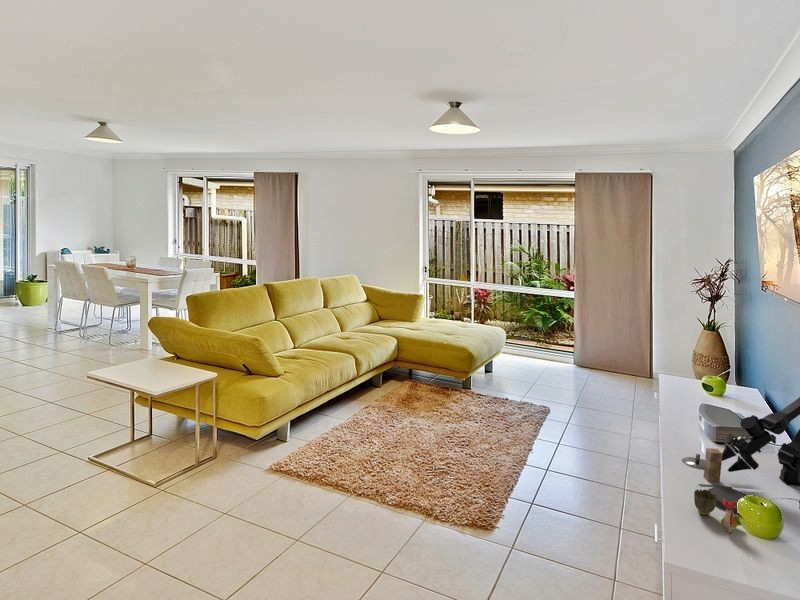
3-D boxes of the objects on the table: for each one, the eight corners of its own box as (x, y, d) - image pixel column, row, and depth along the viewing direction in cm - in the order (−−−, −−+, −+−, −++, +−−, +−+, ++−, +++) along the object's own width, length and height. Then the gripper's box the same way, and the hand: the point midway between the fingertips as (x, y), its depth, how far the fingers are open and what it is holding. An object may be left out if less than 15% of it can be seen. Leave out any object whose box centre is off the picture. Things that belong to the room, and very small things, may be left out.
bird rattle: (738, 541, 181) (742, 521, 187) (740, 519, 176) (744, 499, 182) (717, 535, 185) (722, 515, 191) (718, 513, 180) (723, 493, 186)
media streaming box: (699, 497, 206) (700, 490, 206) (724, 490, 212) (725, 483, 212) (736, 517, 193) (737, 509, 193) (761, 508, 199) (762, 501, 199)
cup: (687, 510, 196) (689, 490, 195) (702, 507, 199) (704, 487, 198) (705, 521, 189) (707, 500, 188) (720, 517, 192) (722, 497, 191)
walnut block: (714, 478, 220) (717, 448, 218) (719, 483, 216) (722, 453, 214) (703, 477, 221) (706, 448, 219) (707, 482, 217) (710, 452, 215)
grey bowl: (706, 460, 238) (707, 449, 237) (717, 472, 226) (718, 461, 226) (677, 458, 240) (678, 447, 239) (687, 470, 228) (688, 459, 227)
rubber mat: (721, 477, 222) (721, 476, 222) (732, 489, 213) (732, 487, 213) (691, 474, 224) (691, 473, 224) (700, 486, 215) (700, 485, 214)
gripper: (731, 419, 223) (700, 442, 226) (753, 437, 204) (719, 461, 208) (749, 438, 223) (718, 461, 226) (773, 457, 204) (739, 482, 208)
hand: (723, 465), depth 217 cm, fingers open, 9 cm apart
